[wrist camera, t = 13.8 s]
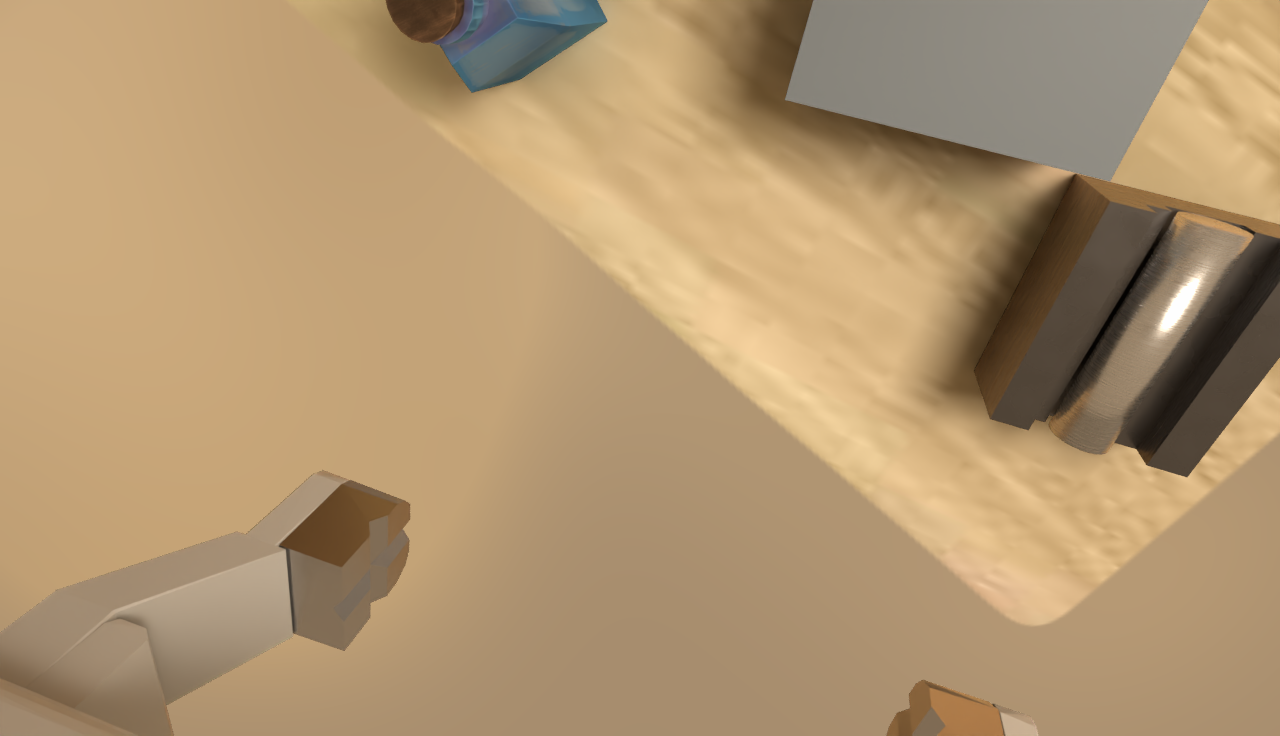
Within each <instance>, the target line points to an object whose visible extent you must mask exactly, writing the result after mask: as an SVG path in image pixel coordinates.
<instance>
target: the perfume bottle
mask: <svg viewBox="0 0 1280 736" xmlns="http://www.w3.org/2000/svg"><path fill="white" fill-rule="evenodd" d="M386 3H387V8H388V11H389V13H390V15H391V17H392V20H393V22H394V23H395V24H396V25H397V27H398V28H399V29H400V30H401V32H403V33H404V34H405V35H407V36H408V37H409V38H411V39H413V40H416V41H419V42H422V43H429V42H431V43H434V44H437V45H439V44H440V46H441V48H442V49H443V51H444V53H445V54H446V56H447V58H448V60H449V61H450V63H451V65H452V66H453V67H454V69H455V70H456V72H457V73H458V74H459V76H460V77H461V79H462V80H463V81H464V83H465V84H466V85H467V87H468V88H469V90H470V91H471V92H472V93H473V92H476V91H480V90H484V89H487V88H491V87H495V86H498V85H502V84H505V83H509V82H513V81H516V80H520V79H522V78H523V77H525V76H526V75H528V74H529V73H531V72H532V71H534V70H535V69H537V68H538V67H540V66H541V65H543V64H544V63H546V62H547V61H549V60H550V59H552V58H553V57H555V56H556V55H558V54H559V53H561V52H562V51H564V50H565V49H567V48H568V47H570V46H571V45H573V44H574V43H576V42H577V41H579V40H580V39H582V38H583V37H585V36H586V35H588V34H589V33H591V32H592V31H594V30H595V29H597V28H598V27H600V26H601V25H603V24H604V23H606V22H607V19H606V17H605V15H604V13H603V11H602V9H601V7H600V5H599V3H598V1H597V0H386Z"/></svg>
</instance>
